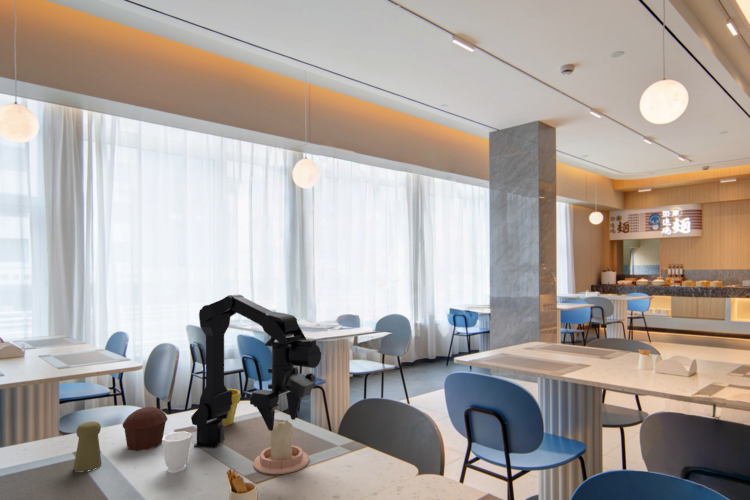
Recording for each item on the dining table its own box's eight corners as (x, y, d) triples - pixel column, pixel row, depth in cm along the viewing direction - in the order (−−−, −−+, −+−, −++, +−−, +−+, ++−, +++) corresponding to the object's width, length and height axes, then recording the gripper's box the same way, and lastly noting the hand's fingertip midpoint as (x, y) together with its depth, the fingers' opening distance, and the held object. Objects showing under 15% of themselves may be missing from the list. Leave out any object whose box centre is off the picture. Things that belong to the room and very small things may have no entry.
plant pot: (246, 420, 148) (246, 390, 149) (225, 430, 138) (225, 398, 139) (220, 416, 152) (221, 387, 152) (198, 426, 142) (199, 395, 143)
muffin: (143, 455, 120) (143, 417, 120) (111, 450, 123) (112, 413, 124) (175, 439, 131) (176, 405, 131) (146, 435, 135) (147, 401, 135)
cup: (154, 474, 109) (155, 440, 109) (179, 457, 119) (180, 426, 119) (180, 476, 108) (181, 442, 108) (203, 459, 117) (204, 427, 118)
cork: (107, 463, 114) (108, 420, 115) (85, 474, 109) (86, 428, 109) (89, 460, 116) (91, 417, 117) (67, 470, 111) (68, 425, 111)
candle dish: (245, 473, 109) (245, 463, 109) (263, 450, 123) (263, 441, 123) (302, 475, 108) (302, 465, 108) (313, 451, 122) (313, 442, 122)
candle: (294, 455, 118) (295, 417, 119) (288, 464, 113) (289, 424, 113) (274, 454, 119) (274, 416, 119) (267, 463, 113) (267, 423, 114)
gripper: (285, 374, 105) (284, 442, 104) (328, 360, 121) (328, 418, 121) (248, 370, 110) (248, 434, 109) (294, 356, 126) (294, 412, 126)
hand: (282, 424), depth 116 cm, fingers open, 9 cm apart
